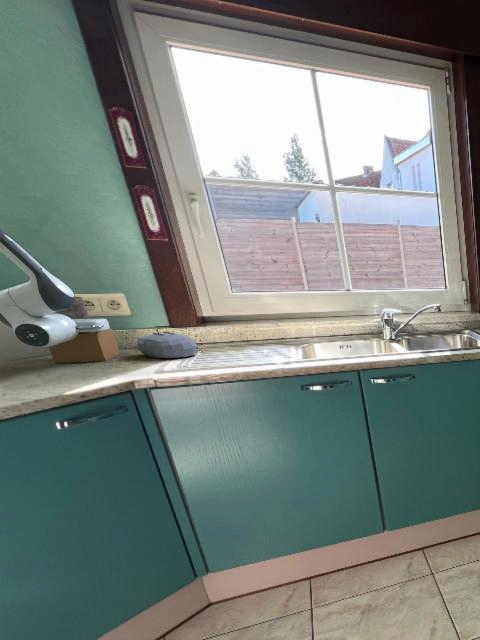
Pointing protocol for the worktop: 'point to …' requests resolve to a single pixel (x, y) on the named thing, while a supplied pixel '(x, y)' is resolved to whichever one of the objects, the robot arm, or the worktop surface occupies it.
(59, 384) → the worktop surface
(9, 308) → the robot arm
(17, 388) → the worktop surface
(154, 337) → the grey rounded bag
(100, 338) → the carton
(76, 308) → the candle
